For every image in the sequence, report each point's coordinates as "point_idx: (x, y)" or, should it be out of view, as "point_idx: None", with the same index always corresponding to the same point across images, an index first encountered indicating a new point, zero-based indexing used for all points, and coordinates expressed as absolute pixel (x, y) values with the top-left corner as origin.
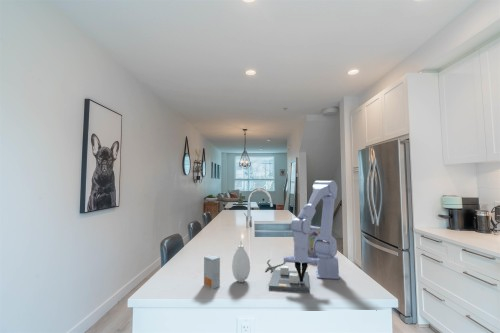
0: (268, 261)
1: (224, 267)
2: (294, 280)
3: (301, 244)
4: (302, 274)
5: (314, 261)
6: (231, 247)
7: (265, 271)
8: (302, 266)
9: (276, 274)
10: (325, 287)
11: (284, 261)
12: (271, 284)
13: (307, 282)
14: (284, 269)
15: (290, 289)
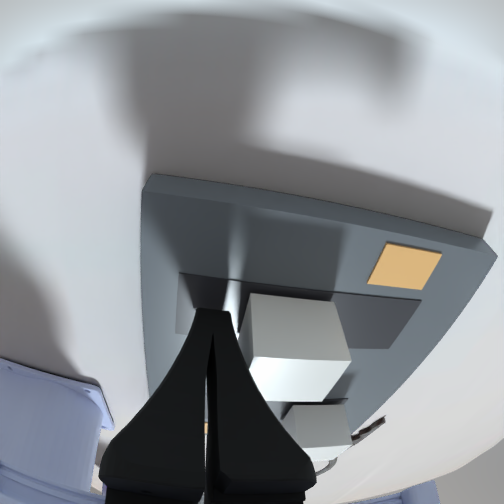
0: (325, 469)
1: (494, 405)
2: (290, 318)
3: None
4: (196, 369)
5: (2, 498)
6: (392, 485)
7: (384, 420)
8: (188, 474)
9: (363, 402)
10: (30, 274)
11: (430, 495)
12: (475, 274)
13: (153, 320)
14: (323, 437)
15: (345, 211)
